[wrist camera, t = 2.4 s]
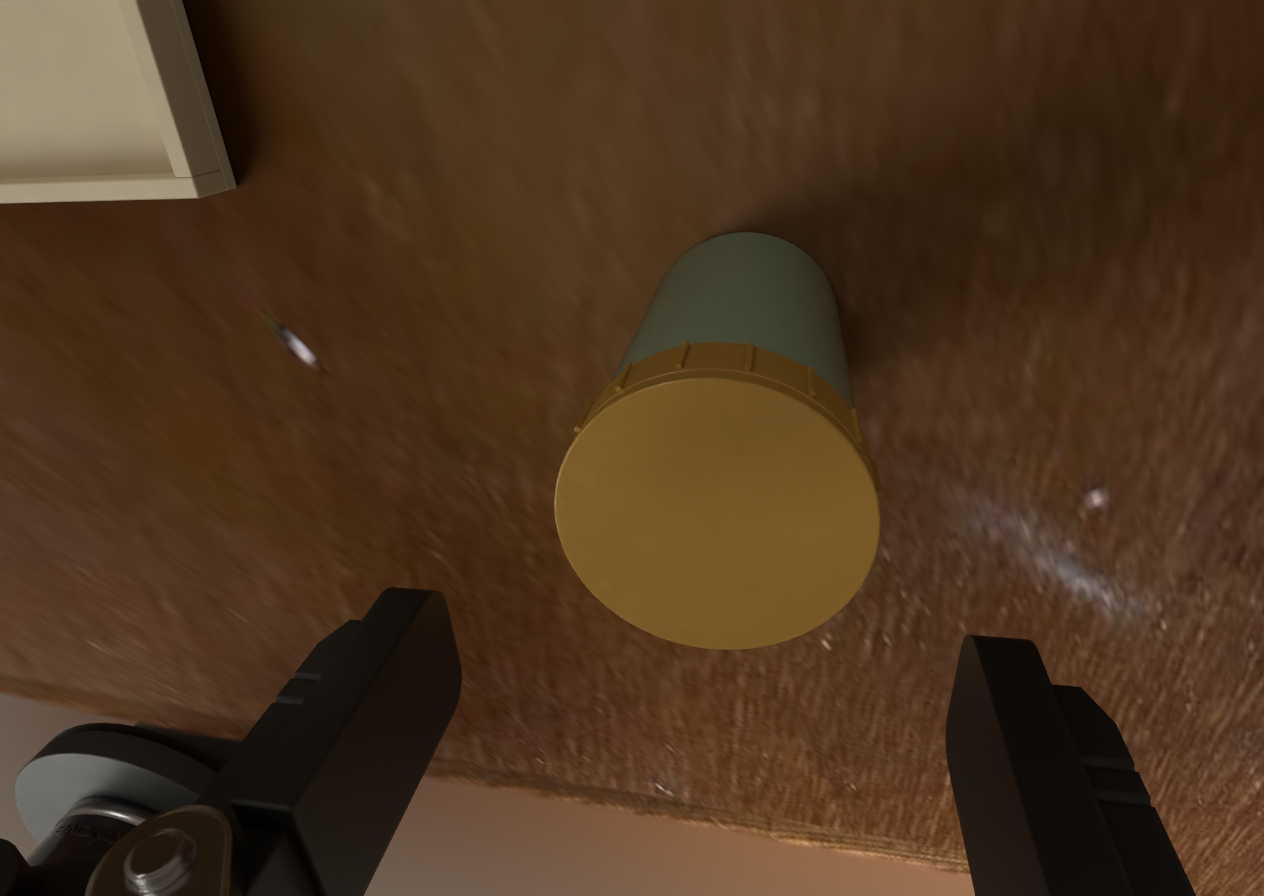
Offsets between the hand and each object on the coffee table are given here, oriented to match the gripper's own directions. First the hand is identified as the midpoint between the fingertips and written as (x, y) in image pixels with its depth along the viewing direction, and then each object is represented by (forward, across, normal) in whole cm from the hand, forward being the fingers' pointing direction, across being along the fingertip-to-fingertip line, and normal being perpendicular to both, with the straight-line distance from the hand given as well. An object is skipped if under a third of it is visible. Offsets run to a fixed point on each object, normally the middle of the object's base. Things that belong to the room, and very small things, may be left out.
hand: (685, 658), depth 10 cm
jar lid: (+4, 0, 0) cm, 4 cm away
